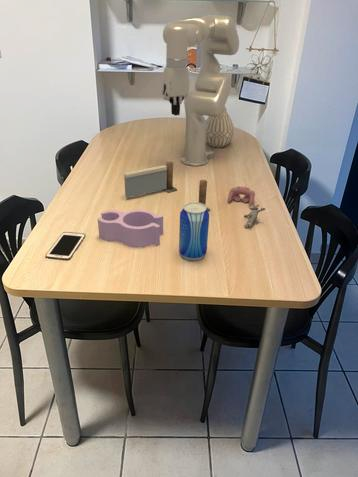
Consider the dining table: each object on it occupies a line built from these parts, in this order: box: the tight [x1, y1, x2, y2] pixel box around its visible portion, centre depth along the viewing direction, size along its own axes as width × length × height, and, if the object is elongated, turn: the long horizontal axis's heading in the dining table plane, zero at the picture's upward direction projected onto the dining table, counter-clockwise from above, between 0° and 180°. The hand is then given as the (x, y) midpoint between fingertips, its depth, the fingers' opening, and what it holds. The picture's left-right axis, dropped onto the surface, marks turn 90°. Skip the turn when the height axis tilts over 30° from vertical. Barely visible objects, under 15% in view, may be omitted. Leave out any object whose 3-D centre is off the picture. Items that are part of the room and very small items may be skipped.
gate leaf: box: [123, 164, 167, 199], centre depth 151 cm, size 17×2×9 cm, turn 122°
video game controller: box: [227, 186, 256, 207], centre depth 149 cm, size 10×5×7 cm, turn 72°
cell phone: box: [45, 231, 86, 261], centre depth 122 cm, size 8×15×1 cm, turn 172°
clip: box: [97, 209, 164, 249], centre depth 126 cm, size 20×12×7 cm, turn 82°
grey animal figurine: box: [243, 204, 266, 229], centre depth 136 cm, size 10×6×9 cm
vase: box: [205, 105, 235, 148], centre depth 202 cm, size 16×16×20 cm
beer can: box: [178, 201, 210, 261], centre depth 115 cm, size 8×8×16 cm
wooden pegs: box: [162, 161, 211, 213], centre depth 148 cm, size 25×4×12 cm, turn 35°
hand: (175, 114), depth 154 cm, fingers closed
